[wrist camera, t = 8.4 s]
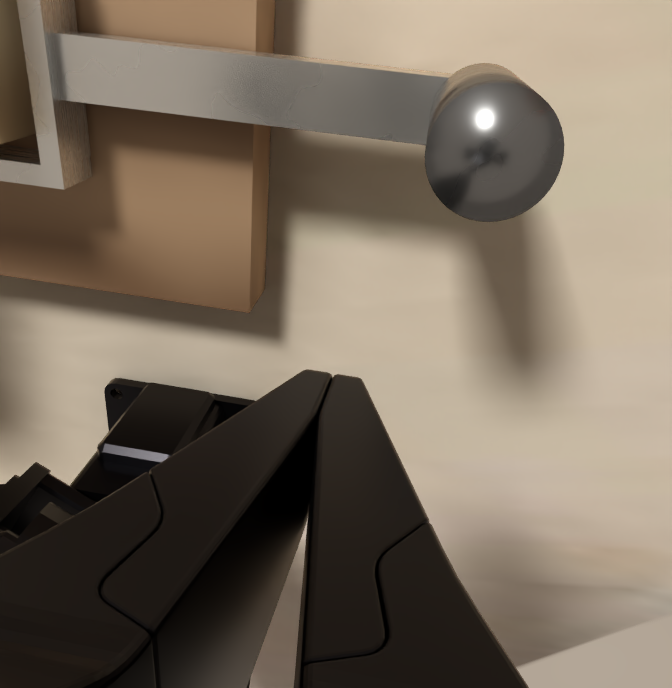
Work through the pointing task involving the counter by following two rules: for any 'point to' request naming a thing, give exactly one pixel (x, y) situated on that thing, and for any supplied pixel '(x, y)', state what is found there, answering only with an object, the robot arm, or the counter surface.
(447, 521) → the counter surface
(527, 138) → the sled
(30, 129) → the maple block
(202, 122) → the tunnel deck
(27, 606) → the robot arm
